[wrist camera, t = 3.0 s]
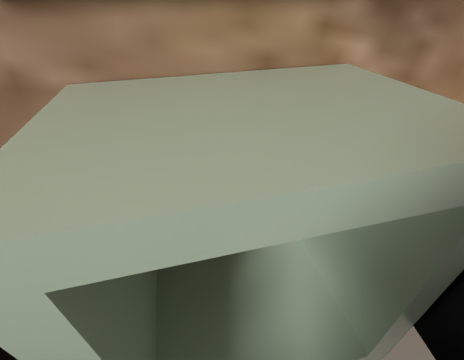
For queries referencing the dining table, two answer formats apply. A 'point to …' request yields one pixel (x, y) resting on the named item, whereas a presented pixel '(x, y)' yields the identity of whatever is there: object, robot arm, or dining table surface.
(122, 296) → the sleeve
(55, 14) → the dining table surface
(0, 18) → the dining table surface
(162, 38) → the dining table surface
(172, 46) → the dining table surface
